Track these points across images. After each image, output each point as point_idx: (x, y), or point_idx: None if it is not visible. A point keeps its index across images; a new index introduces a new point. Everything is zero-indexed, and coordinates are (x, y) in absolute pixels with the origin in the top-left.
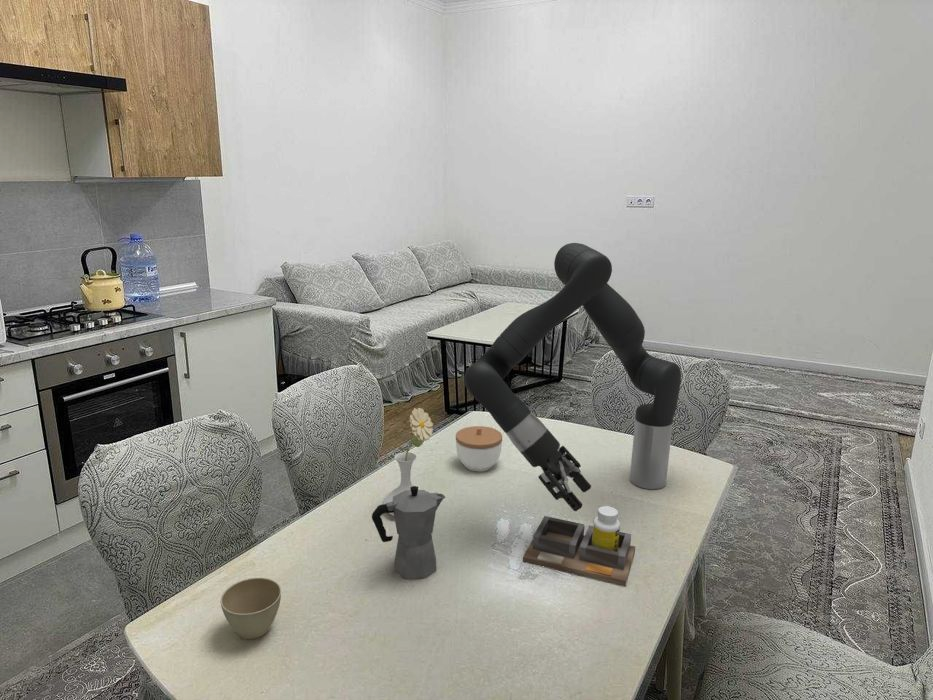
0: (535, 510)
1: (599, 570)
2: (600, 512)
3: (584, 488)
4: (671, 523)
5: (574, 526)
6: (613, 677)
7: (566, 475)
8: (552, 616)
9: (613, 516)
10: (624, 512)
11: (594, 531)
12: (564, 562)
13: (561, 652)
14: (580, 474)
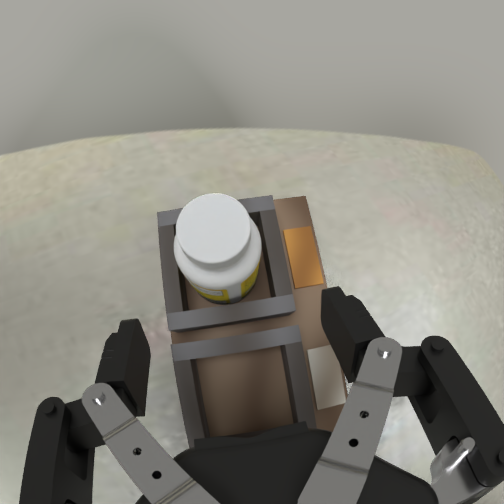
0: (118, 491)
1: (308, 253)
2: (241, 246)
3: (144, 348)
4: (34, 195)
5: (191, 369)
6: (478, 171)
7: (287, 427)
8: (455, 287)
9: (235, 200)
10: (23, 292)
11: (250, 279)
12: (321, 341)
13: (493, 241)
14: (118, 378)
